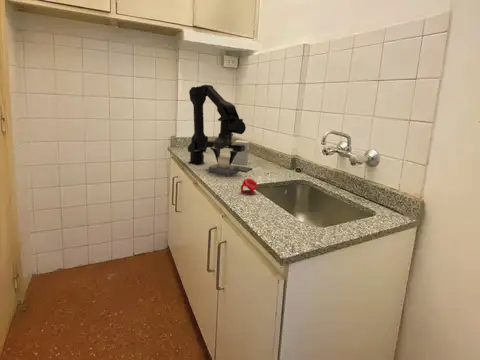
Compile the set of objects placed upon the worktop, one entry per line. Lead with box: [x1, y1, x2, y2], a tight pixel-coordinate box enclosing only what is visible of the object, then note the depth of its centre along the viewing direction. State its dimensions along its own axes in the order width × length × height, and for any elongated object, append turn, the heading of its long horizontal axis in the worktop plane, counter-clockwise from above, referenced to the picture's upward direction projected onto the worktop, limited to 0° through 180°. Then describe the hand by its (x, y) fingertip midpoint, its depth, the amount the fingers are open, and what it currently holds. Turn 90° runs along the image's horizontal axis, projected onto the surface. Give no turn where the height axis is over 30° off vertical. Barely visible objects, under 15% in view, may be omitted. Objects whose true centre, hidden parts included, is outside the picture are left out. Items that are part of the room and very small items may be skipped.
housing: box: [208, 163, 240, 177], centre depth 153 cm, size 11×11×3 cm
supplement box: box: [232, 139, 251, 166], centre depth 176 cm, size 7×7×13 cm
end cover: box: [217, 155, 232, 168], centre depth 153 cm, size 6×6×7 cm
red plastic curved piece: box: [240, 178, 258, 195], centre depth 124 cm, size 8×6×6 cm
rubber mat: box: [238, 165, 253, 173], centre depth 163 cm, size 9×9×1 cm
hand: (224, 163), depth 152 cm, fingers closed on end cover, 6 cm apart
